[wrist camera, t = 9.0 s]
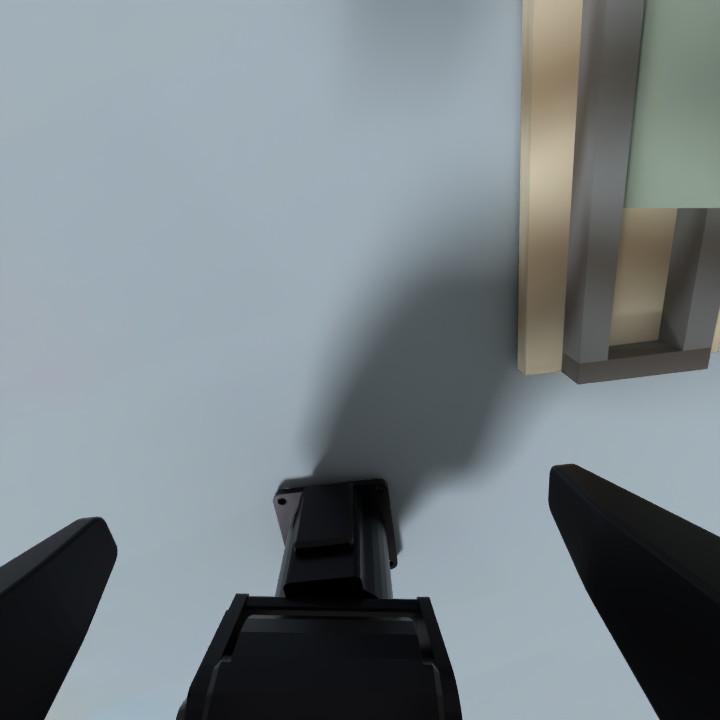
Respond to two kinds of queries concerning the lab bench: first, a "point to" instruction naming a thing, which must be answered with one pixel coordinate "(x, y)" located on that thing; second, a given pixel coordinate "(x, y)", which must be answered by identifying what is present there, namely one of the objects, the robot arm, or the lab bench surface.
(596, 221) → the track
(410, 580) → the lab bench surface
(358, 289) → the lab bench surface
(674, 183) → the door panel
